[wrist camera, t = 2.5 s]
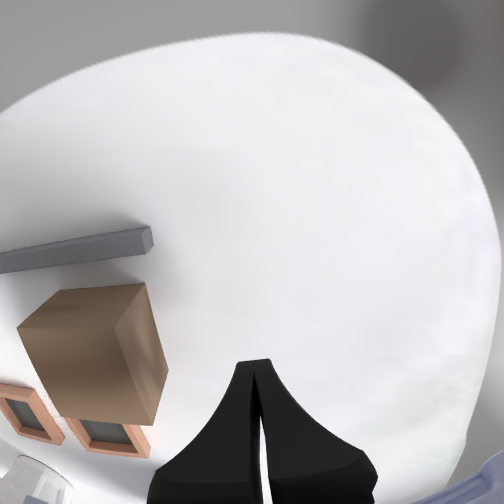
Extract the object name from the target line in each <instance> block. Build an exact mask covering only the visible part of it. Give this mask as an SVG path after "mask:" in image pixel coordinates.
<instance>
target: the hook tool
mask: <svg viewBox="0 0 504 504" xmlns="http://www.w3.org/2000/svg"><path fill="white" fill-rule="evenodd" d="M153 246H154V244H153V239H152V234H151V228H150V227H145V228H139V229H132V230H126V231H119V232H113V233H107V234H101V235H95V236H89V237H83V238H77V239H72V240H66V241H60V242H55V243H49V244H44V245H39V246H33V247H28V248H23V249H18V250H13V251H8V252H3V253H0V274H2V273H9V272H16V271H23V270H30V269H37V268H44V267H52V266H59V265H66V264H74V263H81V262H88V261H96V260H103V259H111V258H119V257H126V256H134V255H142V254H146V253H147V252H148V251H149V250H150V249H151V248H152V247H153Z"/></svg>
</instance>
